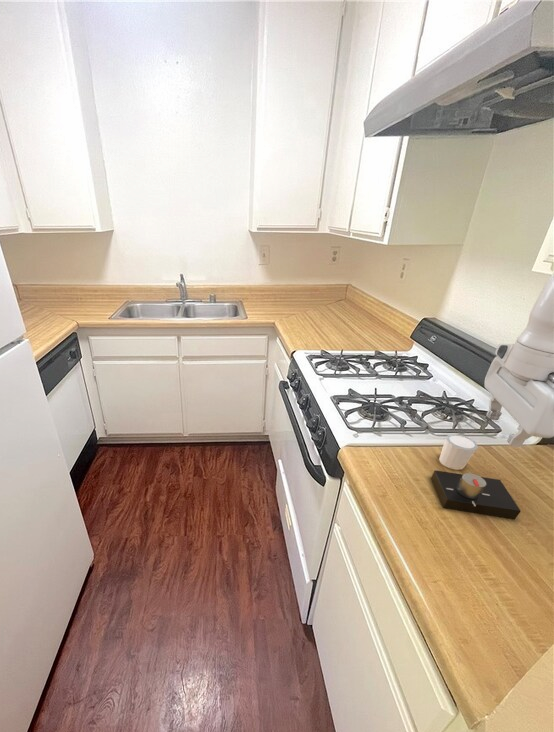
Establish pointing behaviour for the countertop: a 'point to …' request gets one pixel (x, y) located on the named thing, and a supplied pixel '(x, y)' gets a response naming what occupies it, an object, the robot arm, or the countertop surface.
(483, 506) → the black knob base
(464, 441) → the white cylinder
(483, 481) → the hob knob
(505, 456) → the countertop surface
